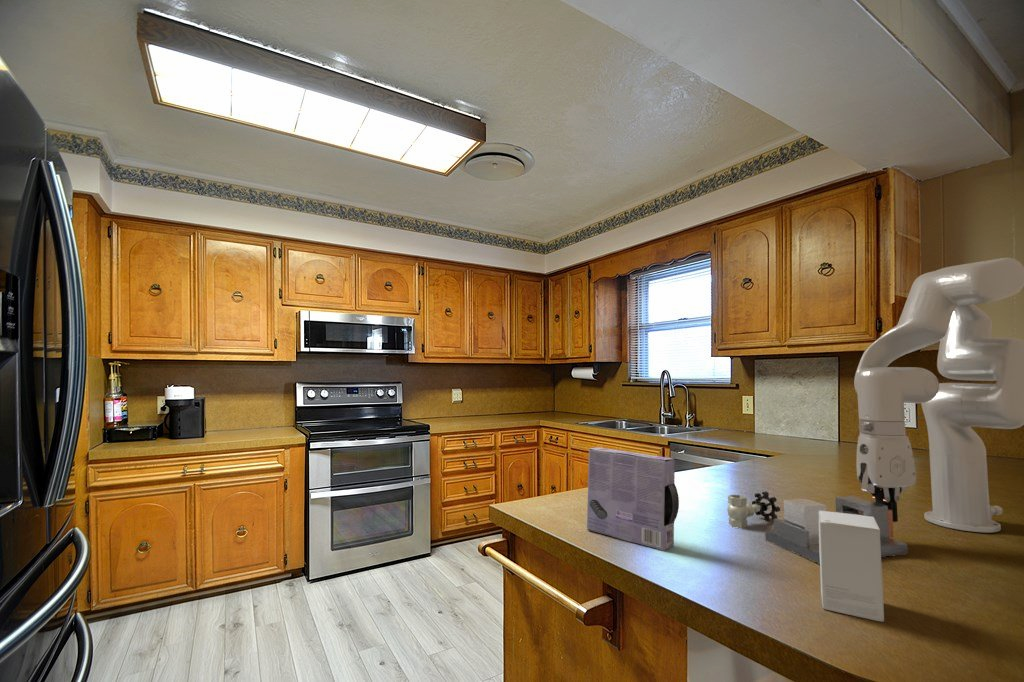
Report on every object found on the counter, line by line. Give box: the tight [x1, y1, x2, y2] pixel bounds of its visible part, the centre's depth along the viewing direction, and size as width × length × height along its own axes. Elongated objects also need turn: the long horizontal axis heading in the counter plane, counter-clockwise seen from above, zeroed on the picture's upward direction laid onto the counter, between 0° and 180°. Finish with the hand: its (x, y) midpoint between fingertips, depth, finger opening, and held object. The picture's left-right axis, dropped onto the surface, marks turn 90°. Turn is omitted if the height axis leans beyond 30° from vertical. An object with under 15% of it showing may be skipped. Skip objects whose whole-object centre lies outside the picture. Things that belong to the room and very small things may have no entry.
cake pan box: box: [586, 446, 680, 552], centre depth 101 cm, size 19×5×18 cm, turn 47°
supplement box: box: [819, 510, 885, 623], centre depth 72 cm, size 7×7×13 cm
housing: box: [783, 498, 827, 544], centre depth 94 cm, size 6×5×7 cm
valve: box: [726, 491, 781, 529], centre depth 110 cm, size 7×7×12 cm
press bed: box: [764, 495, 909, 563], centre depth 95 cm, size 20×13×8 cm, turn 103°
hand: (886, 519), depth 98 cm, fingers closed
